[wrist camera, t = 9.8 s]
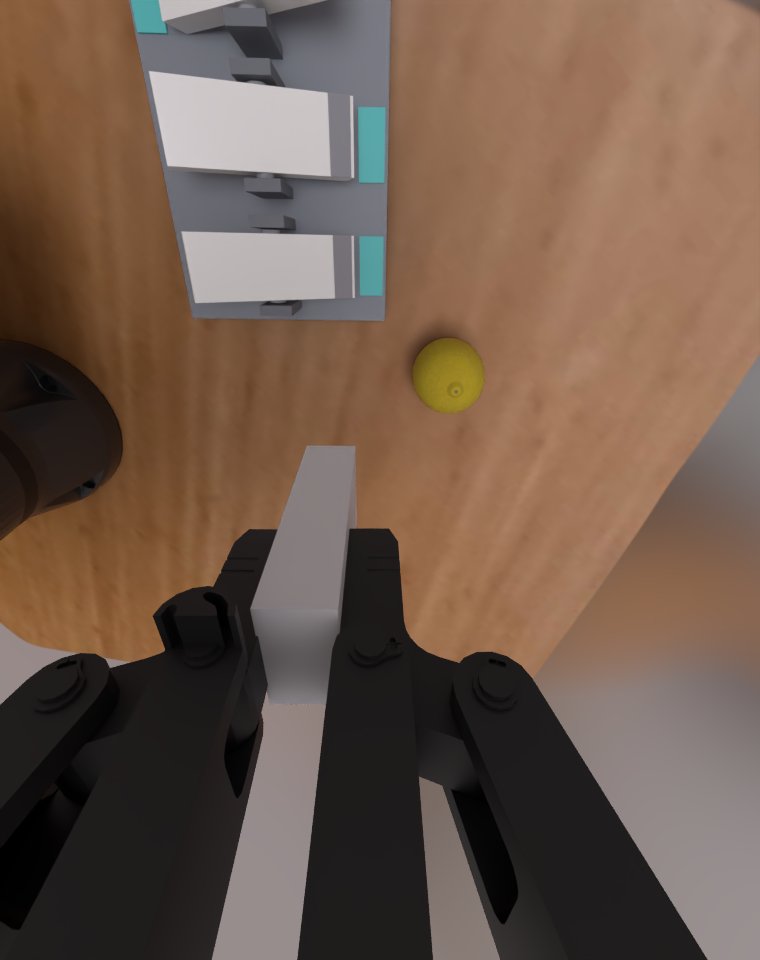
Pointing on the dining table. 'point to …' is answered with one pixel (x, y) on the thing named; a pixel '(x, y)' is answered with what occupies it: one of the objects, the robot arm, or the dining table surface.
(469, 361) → the lemon
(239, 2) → the rocker
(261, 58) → the console
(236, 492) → the dining table surface
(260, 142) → the rocker
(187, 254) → the rocker
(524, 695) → the robot arm
